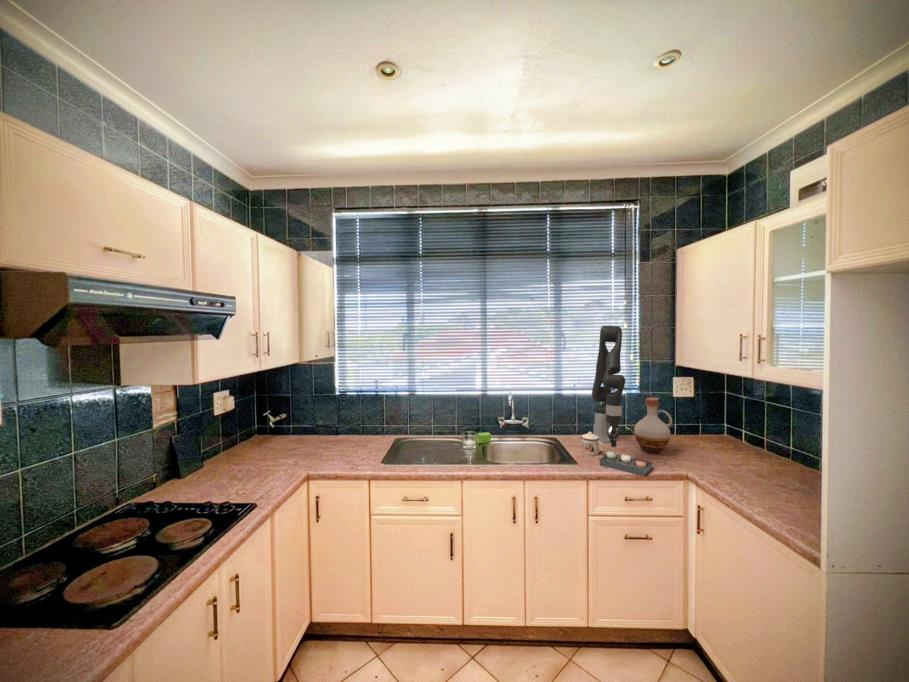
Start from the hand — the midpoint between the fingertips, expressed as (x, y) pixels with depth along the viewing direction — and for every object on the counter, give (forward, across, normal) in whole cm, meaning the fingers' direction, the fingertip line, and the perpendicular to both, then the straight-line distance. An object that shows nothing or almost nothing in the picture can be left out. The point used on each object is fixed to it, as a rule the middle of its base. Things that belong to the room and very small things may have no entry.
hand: (613, 446), depth 183 cm
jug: (+9, -32, +11) cm, 35 cm away
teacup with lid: (+9, -8, -14) cm, 18 cm away
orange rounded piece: (+8, +1, +13) cm, 15 cm away
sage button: (+7, +1, -1) cm, 7 cm away
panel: (+9, +1, +6) cm, 11 cm away
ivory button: (+7, +1, +6) cm, 9 cm away
